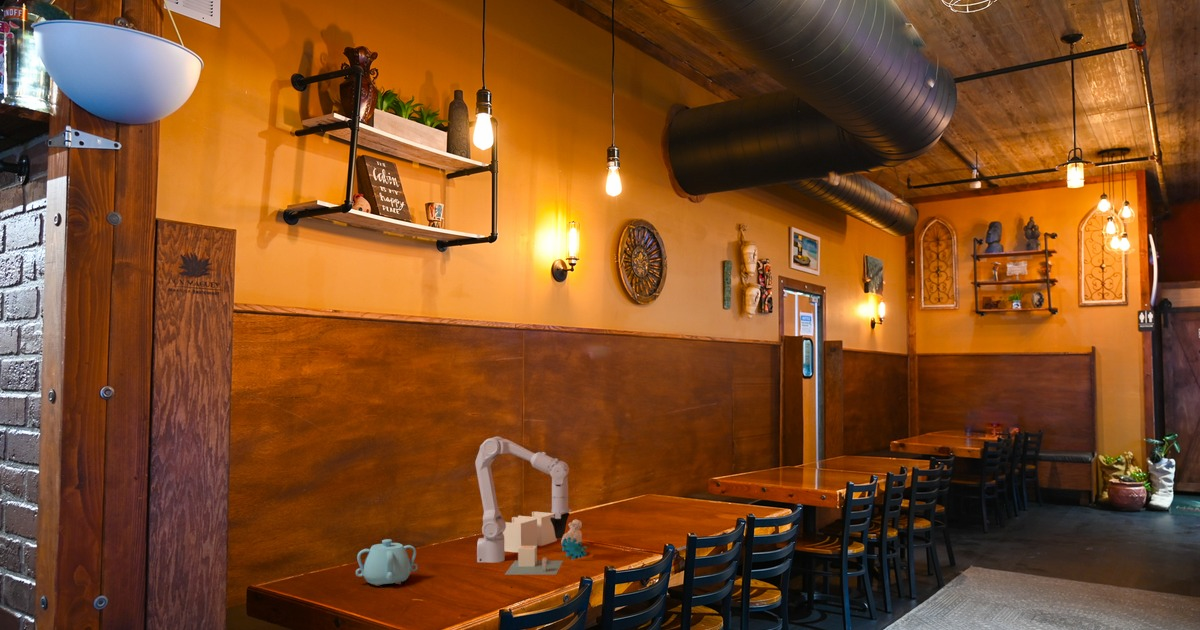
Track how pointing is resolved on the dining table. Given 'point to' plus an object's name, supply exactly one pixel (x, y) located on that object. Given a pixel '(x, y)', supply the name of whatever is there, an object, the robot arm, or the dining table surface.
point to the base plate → (534, 569)
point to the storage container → (529, 531)
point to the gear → (573, 548)
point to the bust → (574, 531)
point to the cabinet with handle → (527, 556)
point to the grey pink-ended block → (544, 564)
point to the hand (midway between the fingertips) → (560, 536)
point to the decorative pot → (386, 563)
